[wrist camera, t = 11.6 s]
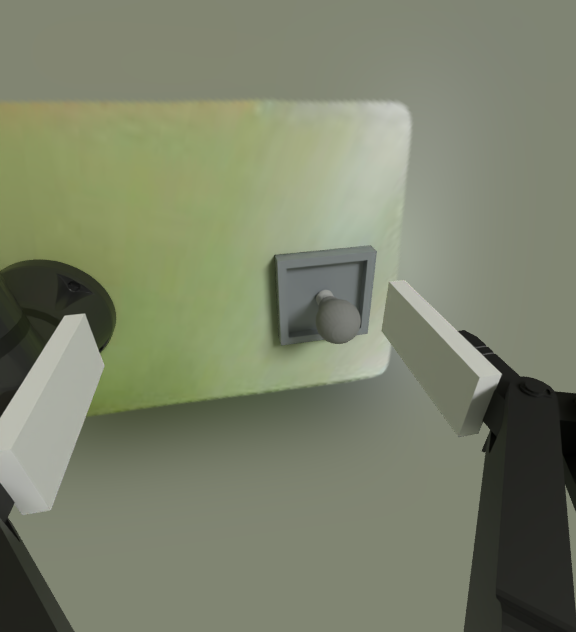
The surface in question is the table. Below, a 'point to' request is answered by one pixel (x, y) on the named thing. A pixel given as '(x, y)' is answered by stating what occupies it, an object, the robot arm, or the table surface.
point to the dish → (321, 288)
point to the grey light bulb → (336, 318)
